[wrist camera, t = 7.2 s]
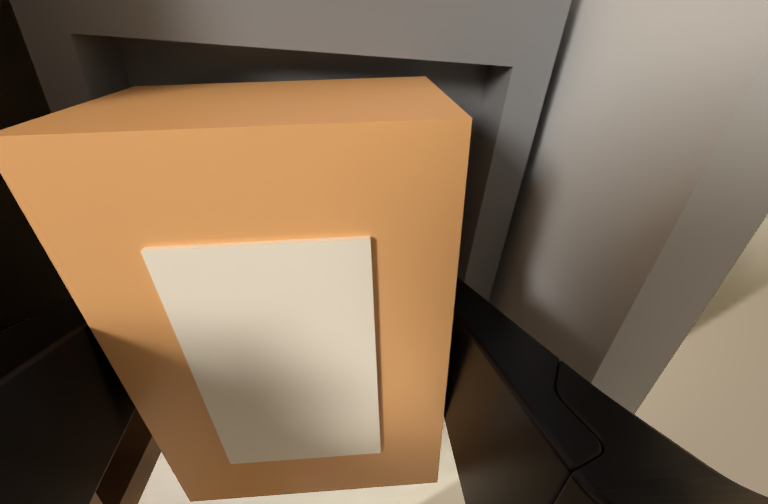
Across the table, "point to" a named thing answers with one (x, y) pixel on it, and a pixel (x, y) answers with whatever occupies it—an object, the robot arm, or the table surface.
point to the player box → (129, 465)
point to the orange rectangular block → (263, 269)
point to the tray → (510, 136)
